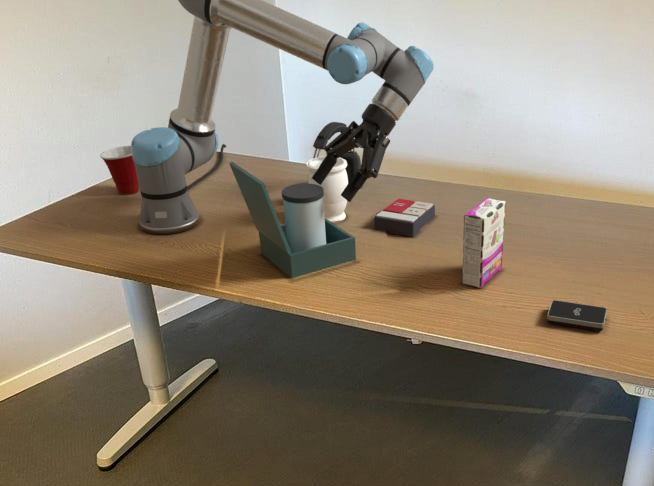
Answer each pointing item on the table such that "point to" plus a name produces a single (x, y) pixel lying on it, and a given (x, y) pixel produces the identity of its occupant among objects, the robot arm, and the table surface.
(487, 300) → the table surface
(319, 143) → the headphones
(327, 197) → the jar
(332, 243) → the chest
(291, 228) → the canister
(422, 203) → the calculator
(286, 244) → the chest lid
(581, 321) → the external hard drive
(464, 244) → the candy bar box
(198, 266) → the table surface
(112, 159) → the plastic cup
